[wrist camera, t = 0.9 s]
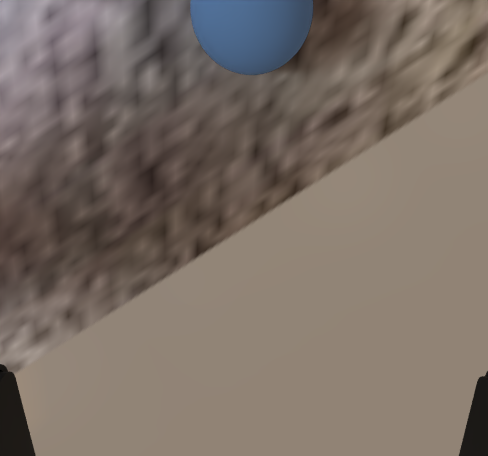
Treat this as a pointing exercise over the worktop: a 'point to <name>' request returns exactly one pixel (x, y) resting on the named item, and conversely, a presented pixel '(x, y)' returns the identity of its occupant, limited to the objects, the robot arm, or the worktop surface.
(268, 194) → the worktop surface
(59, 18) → the worktop surface
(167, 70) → the worktop surface
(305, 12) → the ball
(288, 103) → the worktop surface
